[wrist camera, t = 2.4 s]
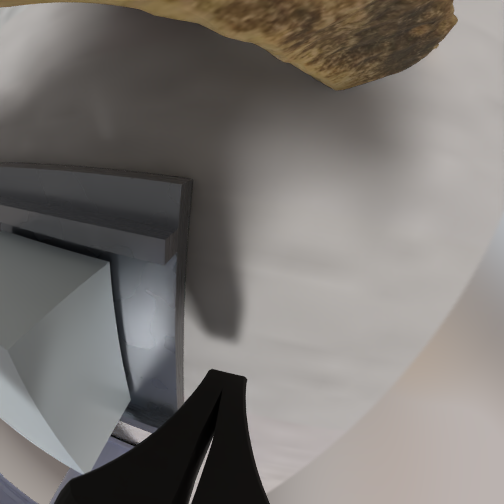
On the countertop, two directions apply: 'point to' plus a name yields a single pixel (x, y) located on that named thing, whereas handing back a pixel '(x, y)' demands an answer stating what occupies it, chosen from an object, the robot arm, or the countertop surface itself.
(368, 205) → the countertop surface
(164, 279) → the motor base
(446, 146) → the countertop surface
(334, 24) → the rock
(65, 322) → the pale blue-grey box
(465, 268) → the countertop surface
